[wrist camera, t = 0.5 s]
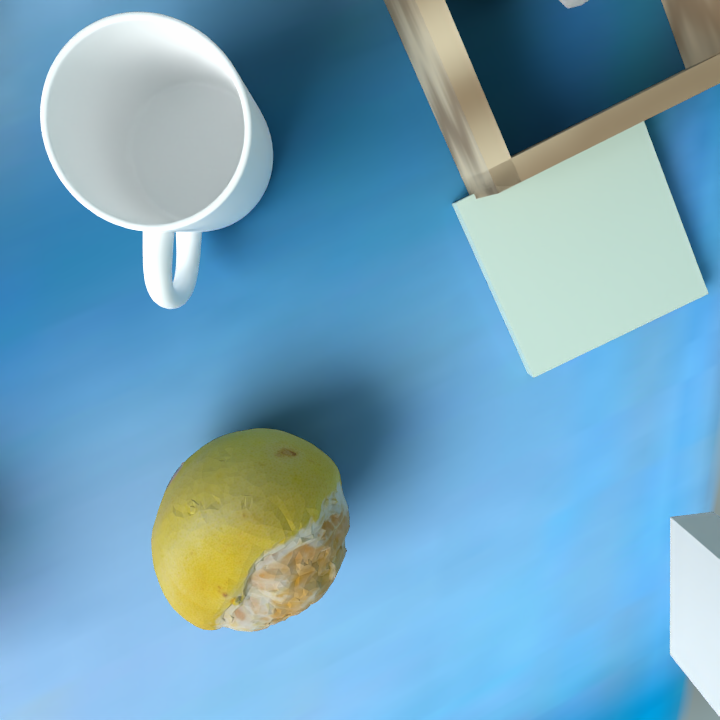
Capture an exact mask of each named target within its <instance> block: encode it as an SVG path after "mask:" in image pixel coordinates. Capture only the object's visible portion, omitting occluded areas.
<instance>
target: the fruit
mask: <svg viewBox="0 0 720 720" xmlns="http://www.w3.org/2000/svg"><path fill="white" fill-rule="evenodd" d="M341 485H342V482H341V477H340V472H339V470H338V468H337V466H336V464H335V463H334V462H333V461H332V459H331V458H330V457H329V456H328V455H326V454H325V453H324V452H323V451H321V450H320V449H319V448H317V447H316V446H315V445H313V444H312V443H310V442H308V441H306V440H304V439H302V438H300V437H297V436H295V435H293V434H290V433H287V432H284V431H281V430H275V429H268V428H255V429H248V430H243V431H237V432H233V433H229V434H226V435H223V436H221V437H218V438H216V439H214V440H212V441H211V442H209V443H207V444H206V445H204V446H203V447H201V448H200V449H199V450H198V451H196V452H195V453H194V454H193V455H191V456H190V457H189V458H188V459H187V460H186V461H185V462H183V463H182V464H181V466H180V467H179V468H178V470H177V471H176V472H175V474H174V475H173V477H172V479H171V480H170V482H169V484H168V486H167V488H166V491H165V493H164V496H163V499H162V501H161V504H160V507H159V510H158V513H157V517H156V520H155V523H154V527H153V531H152V539H151V544H152V557H153V564H154V569H155V572H156V575H157V578H158V581H159V584H160V586H161V588H162V591H163V593H164V595H165V597H166V598H167V600H168V602H169V603H170V604H171V606H172V607H173V608H174V609H175V610H176V611H177V612H178V613H179V614H180V615H181V616H182V617H183V618H184V619H186V620H187V621H188V622H190V623H192V624H193V625H195V626H197V627H199V628H201V629H205V630H216V629H220V628H221V627H227V628H231V629H234V630H237V631H251V632H252V631H258V630H262V629H265V628H268V627H269V626H270V625H274V624H276V623H278V622H280V621H285V620H286V619H287V618H288V617H289V616H294V615H297V614H299V613H301V612H302V611H304V610H305V609H307V608H308V607H309V606H310V604H313V603H315V602H317V601H318V600H319V599H321V598H322V596H323V595H324V594H325V593H326V591H327V590H328V588H329V587H330V585H331V584H332V583H333V581H334V579H335V577H336V575H337V573H338V571H339V569H340V566H341V564H342V561H343V559H344V557H345V553H346V552H347V550H346V548H345V537H346V535H347V533H348V530H349V527H350V525H349V511H348V505H347V502H346V500H345V497H344V495H343V490H342V487H341Z"/></svg>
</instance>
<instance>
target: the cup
mask: <svg viewBox="0 0 720 720" xmlns="http://www.w3.org/2000/svg"><path fill="white" fill-rule="evenodd" d="M40 119H41V130H42V136H43V140H44V144H45V148H46V151H47V154H48V157H49V159H50V161H51V163H52V166H53V168H54V170H55V171H56V173H57V175H58V177H59V178H60V180H61V181H62V182H63V184H64V185H65V187H66V188H67V189H68V190H69V191H70V193H71V194H72V195H73V196H74V197H75V198H76V199H77V200H78V201H79V202H80V203H81V204H82V205H84V206H85V207H86V208H87V209H89V210H90V211H92V212H93V213H95V214H96V215H98V216H99V217H101V218H103V219H105V220H107V221H109V222H111V223H114V224H116V225H119V226H122V227H125V228H129V229H133V230H139V231H143V269H144V278H145V283H146V287H147V290H148V292H149V294H150V296H151V298H152V299H153V301H154V302H156V303H157V304H158V305H160V306H161V307H164V308H167V309H174V308H178V307H180V306H182V305H184V304H185V303H186V302H187V301H188V299H189V298H190V296H191V295H192V293H193V290H194V287H195V284H196V280H197V275H198V269H199V261H200V250H201V237H202V232H207V231H213V230H217V229H221V228H224V227H227V226H229V225H232V224H233V223H235V222H237V221H239V220H240V219H242V218H243V217H244V216H246V215H247V214H248V213H249V212H250V211H251V210H252V209H253V208H254V207H255V206H256V205H257V203H258V202H259V201H260V199H261V197H262V196H263V194H264V192H265V190H266V188H267V186H268V183H269V180H270V176H271V172H272V166H273V147H272V140H271V136H270V132H269V129H268V126H267V123H266V121H265V119H264V117H263V115H262V113H261V111H260V109H259V107H258V106H257V104H256V102H255V101H254V99H253V97H252V96H251V94H250V92H249V91H248V89H247V87H246V86H245V84H244V82H243V81H242V79H241V77H240V76H239V74H238V72H237V71H236V69H235V68H234V66H233V64H232V63H231V61H230V60H229V59H228V57H227V56H226V55H225V53H224V52H223V51H222V50H221V49H220V48H219V47H218V46H217V45H216V44H215V43H214V42H213V41H212V40H211V39H210V38H209V37H207V36H206V35H205V34H203V33H202V32H201V31H199V30H198V29H196V28H194V27H193V26H191V25H189V24H187V23H185V22H183V21H181V20H178V19H176V18H173V17H170V16H166V15H162V14H158V13H151V12H126V13H120V14H115V15H112V16H108V17H105V18H103V19H101V20H98V21H96V22H94V23H92V24H90V25H89V26H87V27H85V28H84V29H83V30H81V31H80V32H78V33H77V34H76V35H75V36H74V37H73V38H72V39H70V41H69V42H68V43H67V44H66V45H65V46H64V47H63V48H62V50H61V51H60V53H59V54H58V55H57V57H56V59H55V60H54V62H53V64H52V66H51V68H50V70H49V72H48V75H47V78H46V81H45V84H44V88H43V92H42V99H41V111H40ZM174 232H176V243H177V259H176V272H175V277H174V281H173V283H172V256H173V241H174Z"/></svg>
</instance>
